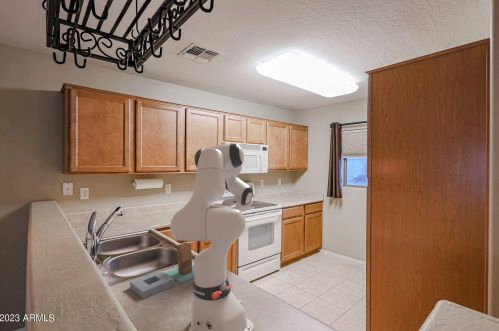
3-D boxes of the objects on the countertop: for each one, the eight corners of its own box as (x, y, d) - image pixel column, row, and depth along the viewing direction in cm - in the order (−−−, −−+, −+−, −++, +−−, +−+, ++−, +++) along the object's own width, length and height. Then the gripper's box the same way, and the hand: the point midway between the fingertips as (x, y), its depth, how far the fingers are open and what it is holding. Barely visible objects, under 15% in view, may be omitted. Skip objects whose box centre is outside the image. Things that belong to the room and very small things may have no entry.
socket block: (174, 285, 109) (174, 278, 109) (143, 299, 98) (142, 291, 98) (159, 276, 118) (159, 270, 118) (130, 288, 108) (129, 281, 108)
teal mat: (206, 272, 120) (206, 271, 120) (181, 283, 110) (181, 282, 110) (188, 264, 131) (188, 263, 131) (164, 273, 121) (164, 273, 121)
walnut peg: (192, 272, 121) (191, 244, 121) (183, 275, 117) (182, 247, 117) (186, 269, 124) (185, 242, 124) (178, 272, 121) (177, 245, 121)
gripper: (217, 200, 143) (197, 203, 132) (241, 202, 129) (221, 206, 118) (217, 210, 143) (197, 214, 133) (241, 214, 129) (221, 219, 119)
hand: (209, 211), depth 125 cm, fingers open, 8 cm apart
